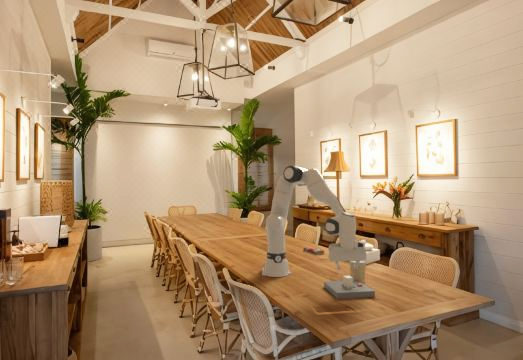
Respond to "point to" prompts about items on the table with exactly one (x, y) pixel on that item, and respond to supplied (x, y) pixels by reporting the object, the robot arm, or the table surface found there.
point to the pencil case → (314, 251)
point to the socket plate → (349, 290)
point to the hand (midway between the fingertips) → (347, 269)
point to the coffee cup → (358, 271)
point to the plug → (347, 281)
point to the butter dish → (371, 253)
